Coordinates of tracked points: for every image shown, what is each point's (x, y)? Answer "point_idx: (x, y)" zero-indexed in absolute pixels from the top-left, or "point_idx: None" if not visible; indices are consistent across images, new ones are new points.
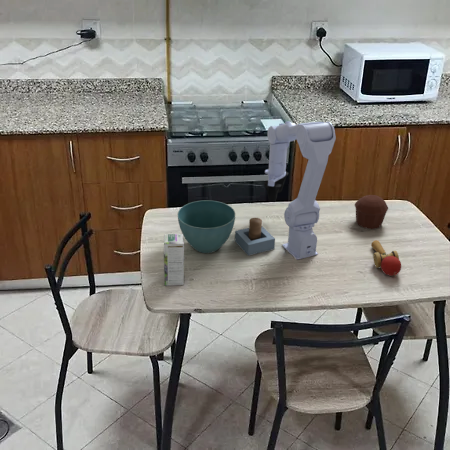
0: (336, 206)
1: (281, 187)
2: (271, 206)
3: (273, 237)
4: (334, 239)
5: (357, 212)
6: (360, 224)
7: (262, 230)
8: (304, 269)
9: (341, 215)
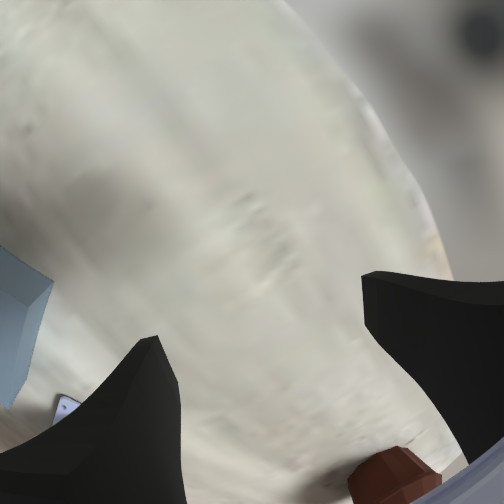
0: None
1: (397, 353)
2: (365, 165)
3: (7, 403)
4: (238, 479)
5: (379, 487)
6: (356, 474)
7: (1, 340)
8: None
9: (398, 416)
